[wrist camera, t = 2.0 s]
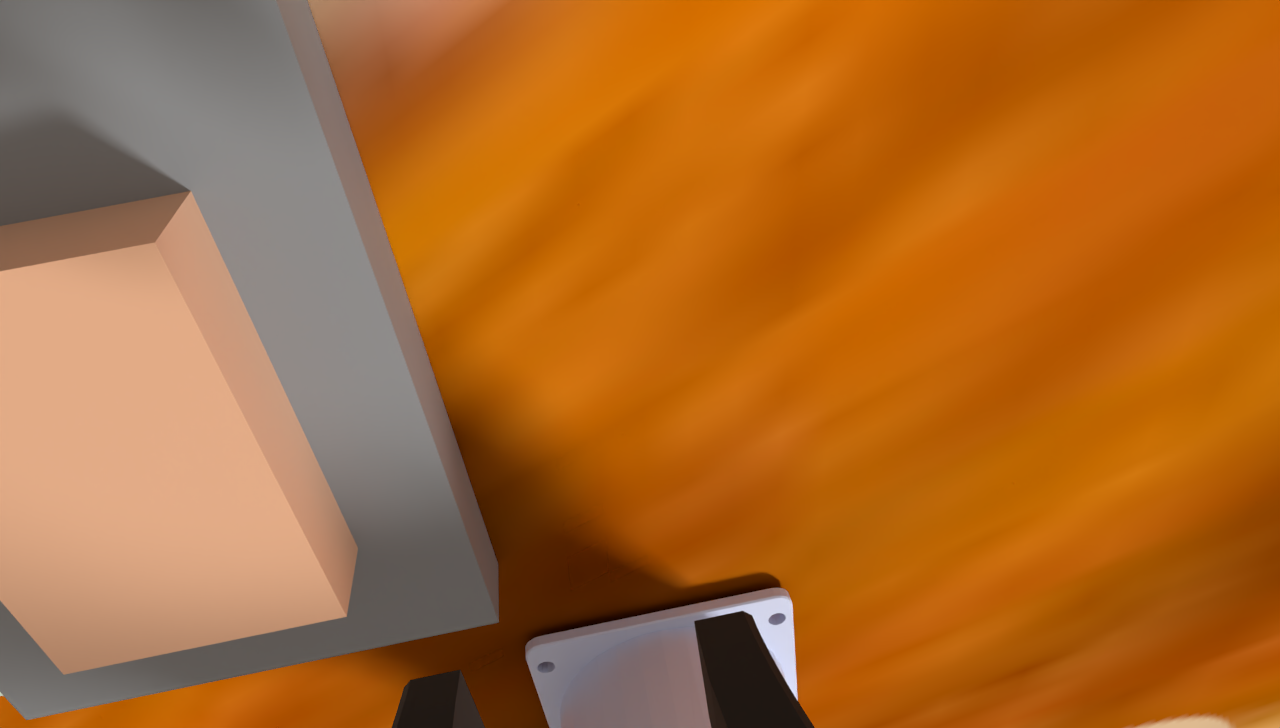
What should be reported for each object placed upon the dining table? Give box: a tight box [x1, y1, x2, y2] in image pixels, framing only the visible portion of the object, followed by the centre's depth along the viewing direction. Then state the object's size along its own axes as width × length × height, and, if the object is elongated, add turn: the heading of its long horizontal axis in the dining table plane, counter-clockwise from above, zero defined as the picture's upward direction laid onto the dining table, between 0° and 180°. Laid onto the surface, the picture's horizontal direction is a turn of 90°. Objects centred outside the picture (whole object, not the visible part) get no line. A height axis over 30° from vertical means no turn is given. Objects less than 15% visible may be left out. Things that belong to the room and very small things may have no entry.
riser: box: [0, 0, 499, 720], centre depth 18 cm, size 16×12×2 cm
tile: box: [0, 191, 358, 675], centre depth 17 cm, size 9×6×2 cm, turn 8°
